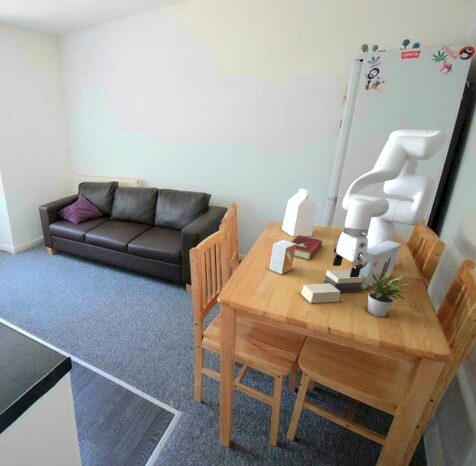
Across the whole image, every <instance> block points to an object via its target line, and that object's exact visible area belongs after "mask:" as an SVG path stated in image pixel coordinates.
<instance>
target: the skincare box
mask: <svg viewBox="0 0 476 466" xmlns="http://www.w3.org/2000/svg"><path fill="white" fill-rule="evenodd" d="M402 246H403V244H402V243H399V242H397V241H390V240H388V241H385V242H383V243H380V244H378V245H375V246H372V247H370V248H367V253H366V257H365V258H366V259H367V260H368V264H367V265H366V266H365V267H363V268H362V269H361V270H360V273H359V275H360V276H362V277H363V280H362V283H361V289H360V290H366V289H368V288H367V287H364V285H363V284H369V285H370V286H372V287H373V286H374V284H373V283H372V282H373V281H374V283H375V284H376V282H375V280H374V278H373V276H372V274H371V273H372V272H373V273H374V275H375V276H376V278H377V280H379V278H380V281H381V282H383V281H384V275H385V272H386V274H387V275H388V273H390V272H391V273H390V274H389V276H388V278H390V277H391V275H392V272H393V270H394V267H395V264H396V262H397V261H396V259H397V260H398V256H399V254H400V251H401V247H402ZM356 265H358V263H356ZM362 271H364V272H362ZM371 271H372V272H371ZM374 271H375V272H374ZM365 272H366V273H365ZM370 272H371V273H370ZM368 274H369V275H370V276H369V275H368ZM377 274H378V275H379V278H378V275H377ZM370 281H371V282H370Z"/></svg>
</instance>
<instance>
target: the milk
mask: <svg viewBox="0 0 476 466" xmlns="http://www.w3.org/2000/svg"><path fill="white" fill-rule="evenodd" d="M309 192H310V191H309V190H308V189H305V188H300V189H299V190H298V192H297V193H296V194H294V195H293V196H292V197H291V198H289V200H288V201H287V204H286V210H285V214H284V219H283V222H282V228H281V230H282V231H283V232H285V233H287V234H288V235H290V236H291V237H297V236H298V235H301V236H306V237H310V236H313V232H314V224H315V217H316V209H317V204H316V202H315V201H314V200H313V199H312V198H311V196H310V193H309Z"/></svg>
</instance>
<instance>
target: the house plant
mask: <svg viewBox="0 0 476 466" xmlns="http://www.w3.org/2000/svg"><path fill="white" fill-rule="evenodd" d="M359 271H360V270H359ZM362 272H364V271H362ZM371 272H372V271H371ZM371 272H370V273H371ZM374 272H375V271H374ZM365 273H366V272H365ZM390 273H391V272H390ZM390 273H388V275H387V274H386V272H385V275H384V280H382V281H380V278H379V275H378V274H377V275H378V278H379V280H377V278H376V276H375V275H374V273H373V272H372V273H371V274H372V276H373V278H374V280H375V282H376V284H375V283H374V281H373V282H372V283H373V284H374V285H372V286H370V285H369V284H363V285H364V287H367V288H366V289H371V290H372V291H371V292H369V293H368V299H367V312H368V313H369V314H372V315H373V316H375V317H385V316H387V313H388V312H389V311H390V309H391V307H392V306H393V304H394V302H395V300H396V301H399V299H402V301H405V298H404V296H403V295H402V294H404V295H406V296H407V294H406V293H405V292H404V291H402V290H400V289H403V288H402V286H410V284H409V283H403V284H399V285H396V284H397V283H399V282H400V281H401V280H402V279H403V278H404V277H405V275H399V276H397V277H396V278H394V279H391V280H390V281H388V279H389V277H388V276H389V274H390ZM391 274H392V273H391ZM368 275H369V274H368ZM369 276H370V275H369ZM387 281H388V282H387ZM370 282H371V281H370ZM395 285H396V286H395ZM373 286H374V287H373Z"/></svg>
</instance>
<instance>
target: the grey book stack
mask: <svg viewBox="0 0 476 466" xmlns="http://www.w3.org/2000/svg"><path fill="white" fill-rule="evenodd" d="M326 283H330V284H331V285H333V286H334V287H335V288H336V289H338V290H339V291H340V293H352V292H353V293H354V292H355V293H356V292H361V290H362V289H361V283H362V282H356V283H338V284H337V283H336V282H335V281H333V280H332V279H331V278H329V277H328V276H327V275H325V277H324V280H323V283H322V284H326Z"/></svg>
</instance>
